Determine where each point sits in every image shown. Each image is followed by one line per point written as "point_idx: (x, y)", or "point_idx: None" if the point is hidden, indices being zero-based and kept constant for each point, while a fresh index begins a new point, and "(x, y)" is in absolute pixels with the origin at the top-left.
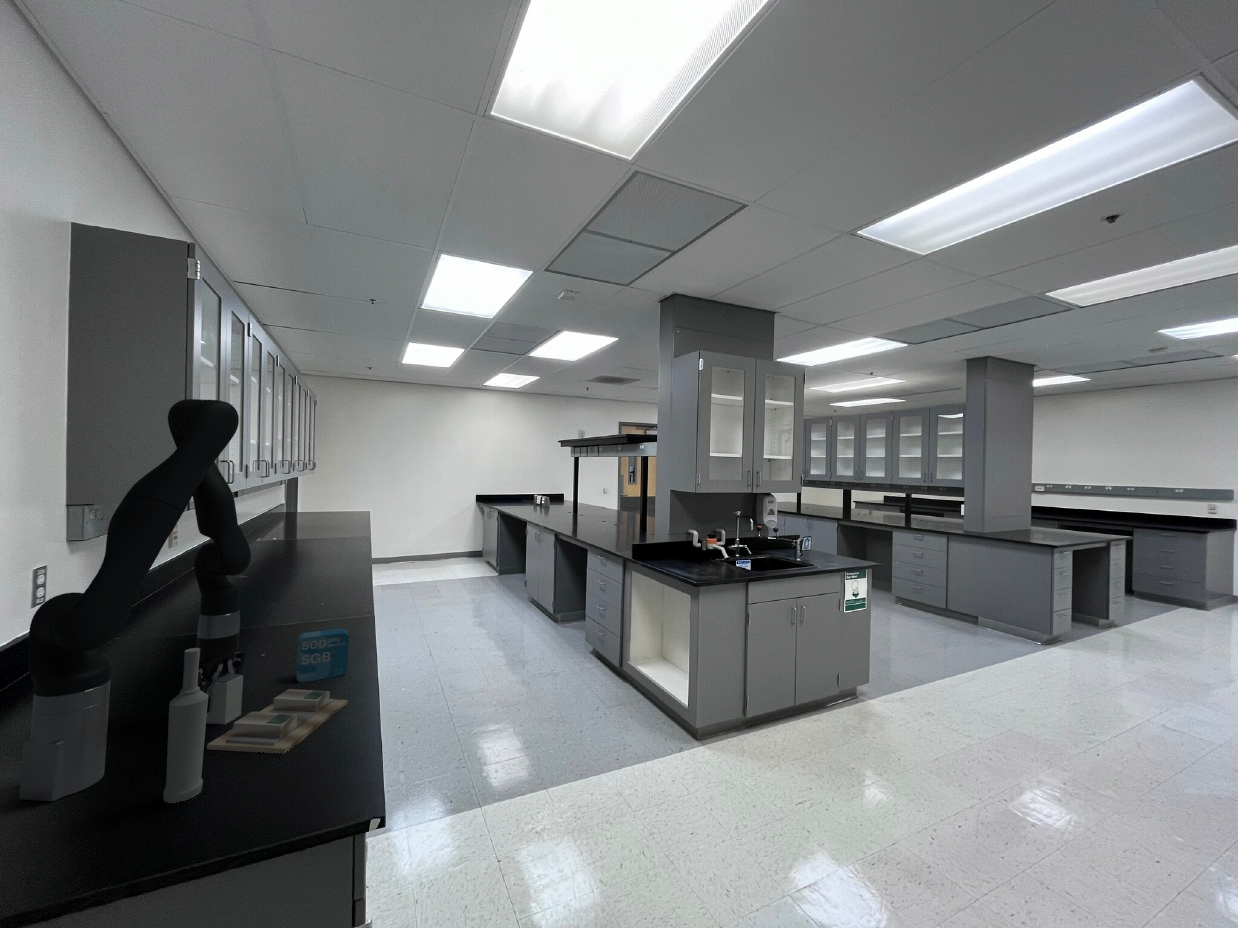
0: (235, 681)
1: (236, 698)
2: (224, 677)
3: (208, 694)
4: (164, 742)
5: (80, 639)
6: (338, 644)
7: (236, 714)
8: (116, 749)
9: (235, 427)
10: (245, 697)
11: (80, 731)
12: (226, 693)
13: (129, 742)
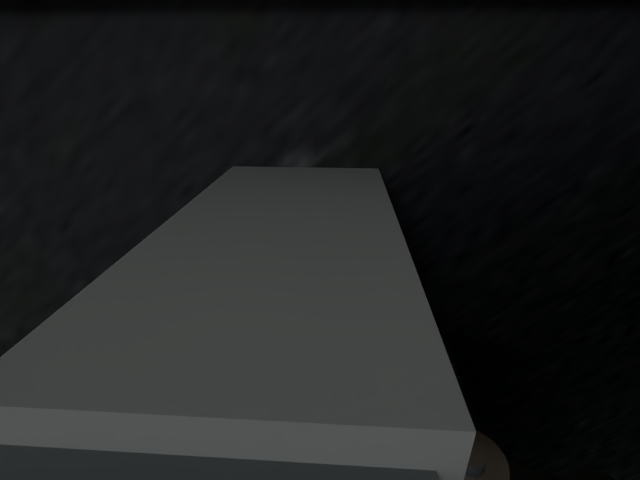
0: (215, 368)
1: (251, 217)
2: None
3: (471, 450)
4: (599, 331)
5: None
6: None
7: (271, 171)
8: (631, 458)
9: None
10: (35, 304)
11: None
12: (418, 288)
13: (567, 455)
